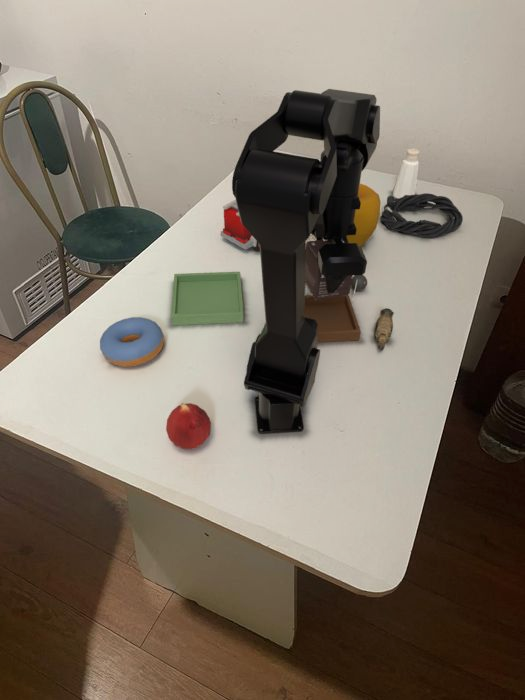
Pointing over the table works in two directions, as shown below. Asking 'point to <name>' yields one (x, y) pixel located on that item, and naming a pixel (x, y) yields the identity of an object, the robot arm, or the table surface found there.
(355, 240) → the apple
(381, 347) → the cat figurine
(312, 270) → the box
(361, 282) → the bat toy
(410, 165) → the pepper shaker
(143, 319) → the doughnut
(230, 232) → the toy fire truck
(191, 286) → the produce tray
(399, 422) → the table surface
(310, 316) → the walnut tray
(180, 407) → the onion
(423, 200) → the cable
